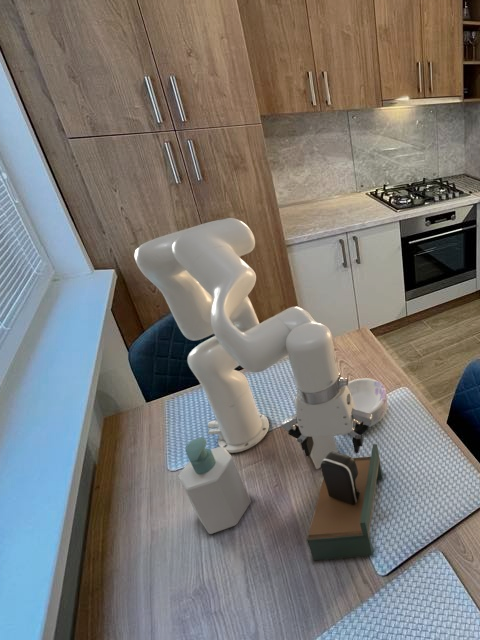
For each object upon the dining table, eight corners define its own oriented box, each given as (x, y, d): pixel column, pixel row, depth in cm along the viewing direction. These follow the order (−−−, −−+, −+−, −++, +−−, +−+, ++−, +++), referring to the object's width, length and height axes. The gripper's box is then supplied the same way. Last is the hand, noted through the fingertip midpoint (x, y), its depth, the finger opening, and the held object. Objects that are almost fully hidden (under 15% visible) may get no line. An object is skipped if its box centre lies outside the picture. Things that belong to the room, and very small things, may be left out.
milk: (316, 470, 101) (297, 405, 92) (308, 453, 106) (289, 390, 96) (340, 456, 104) (323, 393, 95) (331, 441, 109) (315, 378, 99)
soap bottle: (196, 540, 87) (160, 472, 77) (204, 501, 95) (171, 435, 85) (249, 521, 90) (220, 453, 81) (252, 485, 98) (226, 420, 88)
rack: (313, 560, 83) (302, 527, 78) (333, 479, 99) (325, 447, 94) (372, 555, 83) (365, 522, 78) (382, 475, 99) (377, 443, 95)
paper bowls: (400, 413, 117) (397, 393, 113) (355, 448, 106) (351, 427, 103) (368, 389, 126) (364, 369, 122) (324, 419, 116) (319, 398, 112)
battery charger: (364, 490, 88) (357, 455, 84) (355, 507, 85) (346, 470, 80) (338, 481, 91) (329, 445, 86) (327, 496, 87) (317, 461, 83)
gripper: (369, 368, 78) (379, 430, 86) (278, 373, 78) (296, 436, 85) (363, 398, 72) (374, 462, 79) (264, 404, 71) (284, 468, 78)
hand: (334, 448), depth 82 cm, fingers open, 9 cm apart
